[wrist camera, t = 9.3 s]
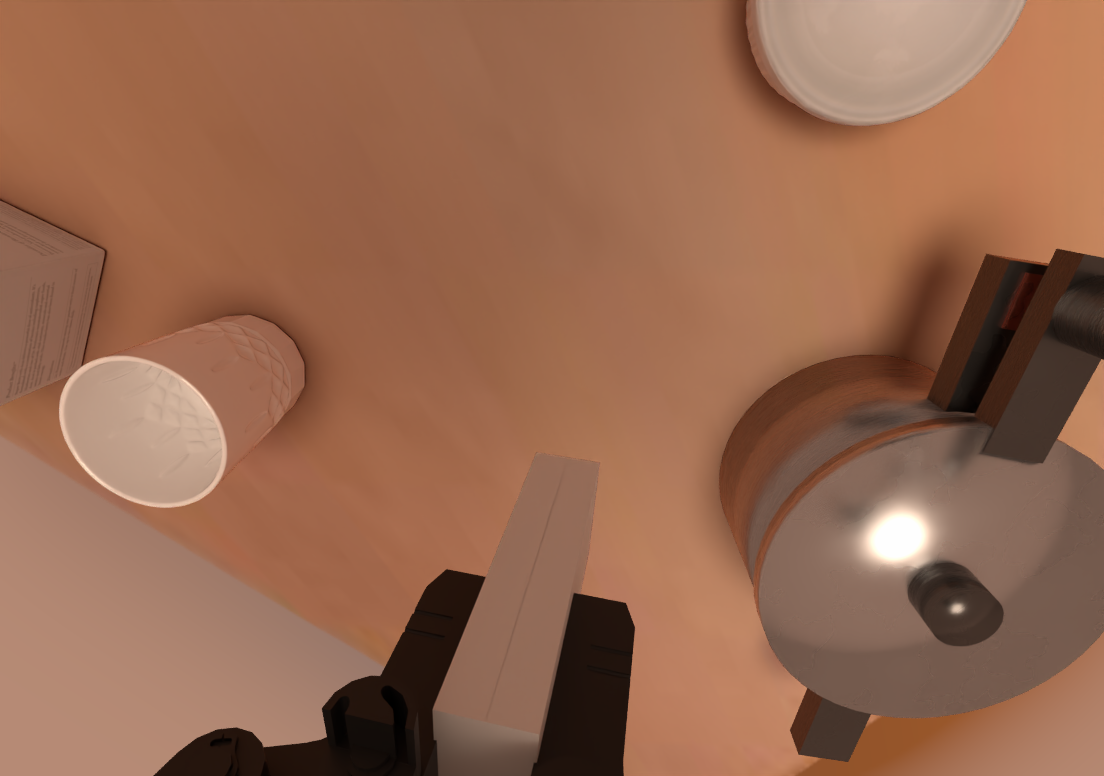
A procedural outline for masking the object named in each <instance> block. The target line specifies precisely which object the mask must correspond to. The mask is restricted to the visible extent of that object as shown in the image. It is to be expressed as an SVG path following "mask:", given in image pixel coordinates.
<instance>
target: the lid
mask: <svg viewBox="0 0 1104 776" xmlns="http://www.w3.org/2000/svg"><path fill="white" fill-rule="evenodd" d="M1101 359H1103V360H1104V258H1101V257H1096V256H1091V255H1086V254H1081V253H1076V252H1071V251H1066V250H1060V249H1056V251H1055V253H1054V255H1053V257H1052V259H1051V261H1050V263H1049V265H1048V267H1047V269H1046V271H1045V273H1044V275H1043V277H1042V279H1041V281H1040V283H1039V286H1038V288H1037V290H1036V292H1035V294H1034V296H1033V298H1032V300H1031V302H1030V304H1029V306H1028V308H1027V310H1026V312H1025V314H1024V316H1023V318H1022V320H1021V322H1020V324H1019V326H1018V328H1017V330H1016V332H1015V334H1014V336H1013V338H1012V340H1011V342H1010V344H1009V347H1008V349H1007V351H1006V353H1005V355H1004V357H1003V359H1002V361H1001V363H1000V365H999V367H998V369H997V371H996V373H995V375H994V377H993V379H992V381H991V383H990V385H989V387H988V389H987V391H986V393H985V395H984V397H983V399H982V401H981V403H980V405H979V407H978V410H977V412H976V414H975V416H974V417H948V418H938V419H929V420H924V421H920V422H915V423H911V424H906V425H902V426H899V427H896V428H893V429H890V430H887V431H884V432H881V433H878V434H876V435H874V436H871V437H869V438H867V439H865V440H863V441H860V442H858V443H856V444H854V445H852V446H851V447H849V448H847V449H845V450H844V451H842V452H840V453H839V454H837V455H835V456H834V457H832V458H831V459H829V460H828V461H827V462H825V463H824V464H823V465H821V466H820V467H819V468H817V469H816V470H815V471H813V472H812V473H811V474H810V475H809V476H808V477H807V478H806V479H805V480H804V481H802V482H801V483H800V484H799V485H798V486H797V487H796V488H795V489H794V490H793V492H792V493H791V494H790V495H789V496H788V498H787V499H786V500H785V501H784V502H783V504H782V505H781V506H780V508H779V509H778V511H777V512H776V514H775V516H774V517H773V519H772V520H771V522H770V523H769V526H768V528H767V530H766V532H765V534H764V536H763V539H762V541H761V544H760V547H759V550H758V554H757V557H756V562H755V569H754V577H753V582H754V598H755V603H756V608H757V612H758V615H759V618H760V620H761V623H762V626H763V628H764V631H765V633H766V636H767V639H768V641H769V644H770V646H771V648H772V649H773V651H774V653H775V654H776V656H777V658H778V659H779V661H780V662H781V663H782V664H783V666H784V667H785V668H786V669H787V670H788V671H789V673H790V674H791V675H792V676H794V677H795V678H796V679H797V680H798V681H799V682H800V683H802V684H803V685H804V686H805V687H807V688H808V689H810V690H811V691H813V692H815V693H816V694H818V695H819V696H821V697H823V698H825V699H827V700H829V701H831V702H833V703H835V704H838V705H841V706H844V707H847V708H850V709H852V710H856V711H860V712H864V713H869V714H873V715H880V716H888V717H896V718H898V717H899V718H928V717H940V716H948V715H954V714H960V713H965V712H969V711H973V710H978V709H982V708H985V707H988V706H991V705H994V704H997V703H1000V702H1003V701H1006V700H1008V699H1011V698H1013V697H1015V696H1018V695H1020V694H1022V693H1024V692H1027V691H1029V690H1030V689H1032V688H1034V687H1036V686H1038V685H1039V684H1041V683H1043V682H1045V681H1047V680H1048V679H1050V678H1051V677H1053V676H1054V675H1056V674H1057V673H1059V672H1060V671H1062V670H1063V669H1065V668H1066V667H1067V666H1068V665H1070V664H1071V663H1072V662H1074V661H1075V660H1076V659H1077V658H1078V657H1080V656H1081V655H1082V654H1083V653H1084V652H1085V651H1086V650H1087V649H1088V648H1089V647H1090V646H1091V645H1092V644H1093V643H1094V642H1095V641H1096V640H1097V639H1098V638H1099V637H1100V635H1101V634H1102V633H1103V631H1104V470H1103V469H1102V468H1101V467H1100V466H1098V465H1097V464H1096V463H1095V462H1094V461H1093V460H1091V459H1090V458H1088V457H1087V456H1085V455H1083V454H1082V453H1080V452H1078V451H1077V450H1075V449H1073V448H1072V447H1070V446H1068V445H1067V444H1065V443H1063V442H1062V441H1060V440H1058V439H1057V438H1058V436H1059V434H1060V432H1061V430H1062V429H1063V427H1064V425H1065V423H1066V421H1067V420H1068V418H1069V416H1070V414H1071V412H1072V411H1073V409H1074V407H1075V405H1076V404H1077V402H1078V400H1079V398H1080V396H1081V395H1082V393H1083V391H1084V389H1085V387H1086V386H1087V384H1088V382H1089V380H1090V378H1091V377H1092V375H1093V373H1094V371H1095V369H1096V368H1097V366H1098V364H1099V362H1100V360H1101Z"/></svg>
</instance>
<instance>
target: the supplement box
mask: <svg viewBox="0 0 1104 776" xmlns="http://www.w3.org/2000/svg"><path fill="white" fill-rule="evenodd" d="M104 256H105V252H104V250H103V249H101V248H99V247H97V246H94V245H92V244H90V243H88V242H86V241H84V240H82V239H80V238H78V237H76V236H74V235H71V234H69V233H67V232H65V231H63V230H61V229H59V228H57V227H55V226H53V225H50V224H48V223H46V222H44V221H42V220H40V219H38V218H36V217H34V216H32V215H29V214H27V213H25V212H23V211H21V210H19V209H17V208H15V207H13V206H11V205H9V204H7V203H5V202H2V201H0V406H1V405H4V404H6V403H8V402H10V401H13V400H15V399H17V398H20V397H22V396H24V395H27V394H29V393H31V392H33V391H36V390H38V389H40V388H43V387H45V386H47V385H49V384H52V383H54V382H56V381H59V380H61V379H63V378H66V377H68V376H70V375H73V374H74V373H75V372H76V371H77V370H78V369H79V368H81V365H82V360H83V355H84V350H85V346H86V341H87V336H88V332H89V327H90V322H91V318H92V313H93V308H94V304H95V299H96V294H97V289H98V285H99V280H100V275H101V270H102V266H103V261H104Z"/></svg>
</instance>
